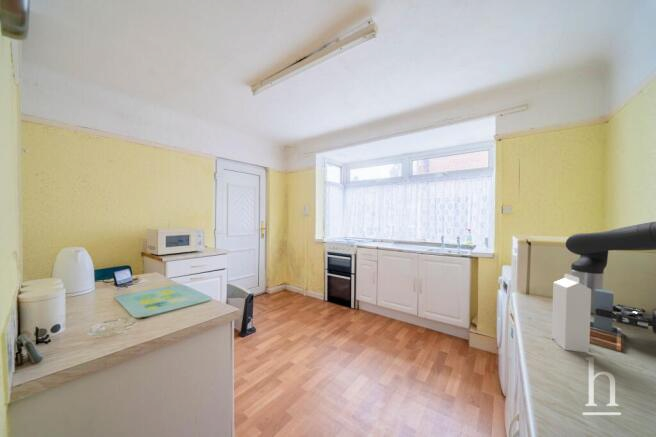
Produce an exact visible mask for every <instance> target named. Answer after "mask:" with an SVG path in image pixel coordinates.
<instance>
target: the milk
mask: <svg viewBox="0 0 656 437" xmlns="http://www.w3.org/2000/svg"><path fill="white" fill-rule="evenodd" d="M552 289H553V290H552V318H551V320H552V321H551V341H553V342H554V343H556V345H558V346H559V347H561V348H562V349H563V350H564V351H566V350H567V351H573V352H580V353H590V343H589V342H590V321H591V313H590V312H591V289H589V288H588V287H586V286H584V285H582V284H580V283H579V278H578V277H575V276H572V275H571V274H569V273H564V274H563V278H561V279H558V280H555V281H553V286H552Z"/></svg>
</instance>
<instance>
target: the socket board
mask: <svg viewBox="0 0 656 437" xmlns="http://www.w3.org/2000/svg"><path fill="white" fill-rule="evenodd" d="M589 344H592V345H594V346H595V345H596V346H598V347H601V348H604V349H605V348H606V349H609V350H612V351H616V352H619V353H622V354H625V350H626V349H625V333H624V332H622V329H621V328H620V327H616V326H612V332H608V331H604V330H600V329H596V328H594V321H591V320H590V342H589Z"/></svg>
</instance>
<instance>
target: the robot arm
mask: <svg viewBox="0 0 656 437" xmlns="http://www.w3.org/2000/svg"><path fill="white" fill-rule="evenodd" d="M565 247H566V249H567V250H568V251H569V252H571V253H572V254H574V255H578V256H579V258H578V259H577V260H576V261H573V262H572V263H571V266H570V269H571V270H570V275H572V276H575V277H578V278H579V283H580V284H582V285H584V286H586V287H588V288H589V289H591V312H590V315H591V314H592V315H594V305H595V289H602V290H604V272H605V271H604V270H605V268H606V267H607V265H608V259H609V258H608V257H609V251H655V250H656V221H650V222H644V223H639V224H634V225H630V226H624V227H619V228H614V229H611V230H610V229H609V230H605V231H598V232H597V231H596V232H588V233H587V232H586V233H574V234H572V235H570V236H569V237H568V238H567V239H566V241H565ZM646 311H647V310H646V309H643V308H637V307H633V306H627V305H623V304H613V312H612V311H608V310H603V309H598V308H596V309H595V314H596V315H598V316H602V317H606V318H611V319H613V321H616V323H618V324H621V325H622V324H623V325H626V326H630V327H636V328H640V329H644V330H649V327H651V331H652V333H654V334H656V307H655V308H652V311H651V313H648V312H646Z"/></svg>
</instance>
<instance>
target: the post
mask: <svg viewBox="0 0 656 437" xmlns="http://www.w3.org/2000/svg"><path fill="white" fill-rule="evenodd" d="M614 292H615V291H614V290H613V291H612V290H606V289H603V290H602V289H595V305H594V314H593V322H594V328H596V329H600V330H604V331H608V332H612V327H613V324H614V323H613V321H614V320H613V319H611V318H606V317H602V316H598V315H596V314H595V309H596V308H598V309H603V310H608V311H612V312H614V311H613V306H614Z"/></svg>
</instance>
